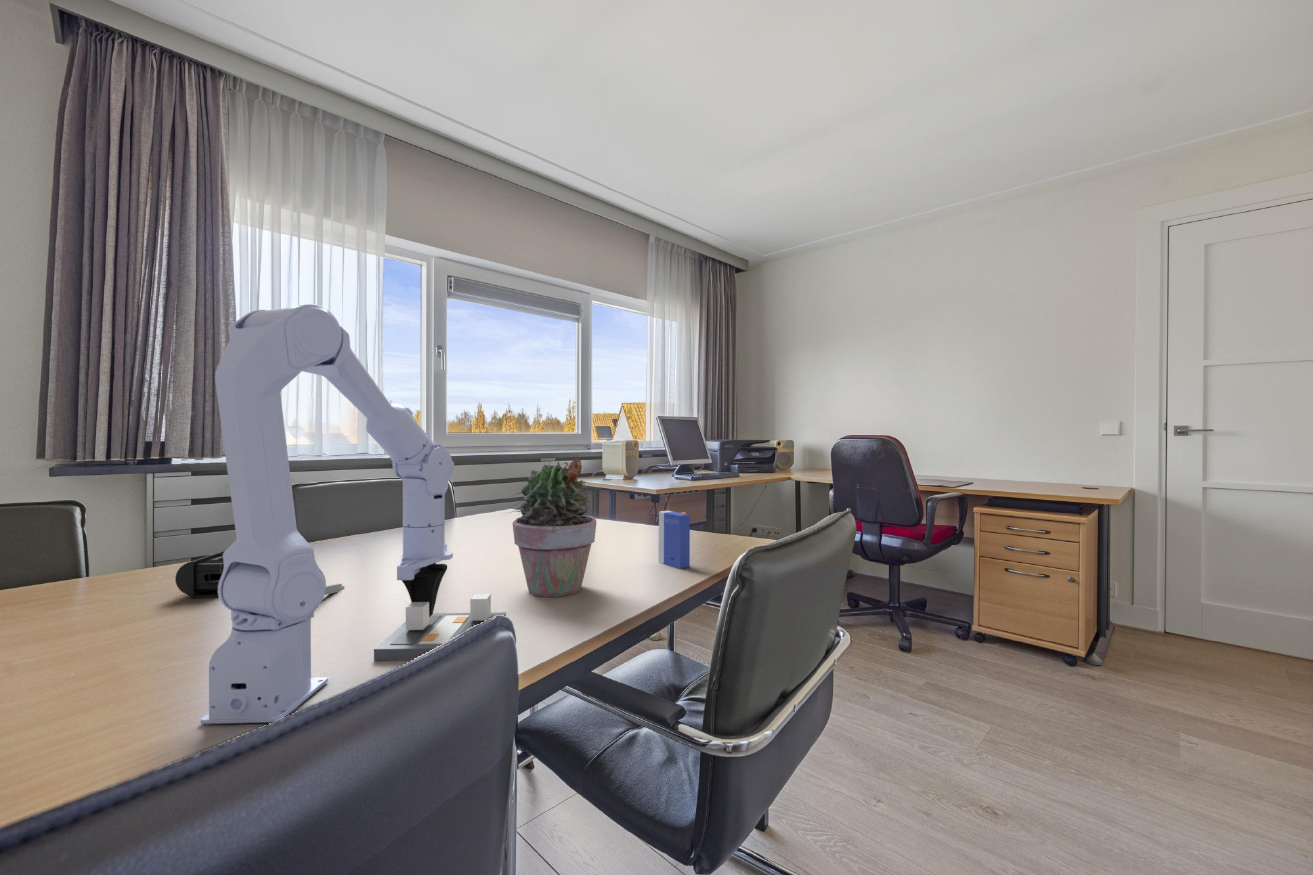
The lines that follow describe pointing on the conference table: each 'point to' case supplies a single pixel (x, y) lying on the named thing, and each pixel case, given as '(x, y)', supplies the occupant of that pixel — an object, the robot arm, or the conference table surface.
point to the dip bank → (424, 636)
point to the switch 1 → (417, 615)
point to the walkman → (674, 539)
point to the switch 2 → (480, 607)
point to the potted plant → (554, 531)
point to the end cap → (201, 576)
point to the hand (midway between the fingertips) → (424, 616)
